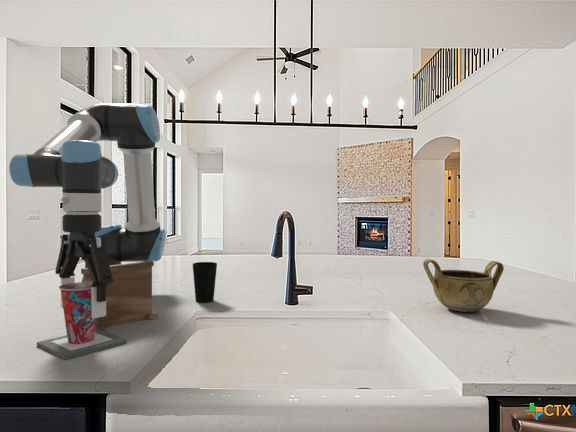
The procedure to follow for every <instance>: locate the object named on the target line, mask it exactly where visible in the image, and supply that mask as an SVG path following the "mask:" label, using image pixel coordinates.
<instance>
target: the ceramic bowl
mask: <svg viewBox="0 0 576 432" xmlns="http://www.w3.org/2000/svg"><path fill="white" fill-rule="evenodd" d="M429 263H431V264H432V266H433V267H434V275H433V274H432V272H431V269H430V267H429ZM422 265H423V268H424V271H425V273H426V276H427V277H428V279H429V281H430V284H431V285H432V289H433V292H434V295H435V298H436V299H437V301H439V302H440V304H442V305H443V306H444V307H445V308H447V309H449V310H451V311H453V310H454V311H453V312H456V311H459V312H458V313H463V312H470V313H474V312H478V311H480V310H483V309H484V308H485V307H486V306H487V305H488V304H489V303H490V301H492V298H493V295H494V291H495V290H496V287H497V286H498V283H499V282H500V278H501V276H502V275H503V273H504V270H505V267H504V265H503V263H502V262H500V261H496V260H491V261H490V262H488V264H487V265H486V266H485V268H484V271H483V272H481V271H477V270H476V271H473V270H465V269H464V270H463V269H441V266H440V265H439V263H438V262H437V261H436V260H435V259H431V258H426V259H424V261H423V263H422ZM495 266H496V269H495V271H494V273H493V276H492V269H493V268H494V267H495Z"/></svg>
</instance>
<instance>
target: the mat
mask: <svg viewBox="0 0 576 432" xmlns="http://www.w3.org/2000/svg"><path fill="white" fill-rule="evenodd" d="M127 340H128V339H126V338H124V337H121V336H118V335H117V334H116V335H115V334H113V333H110V332H108V331H104V330H102V329H96V330H95V337H94V340H93V341H91V342H88V343H84V344H70V343H68V339H67V334H66V335H62V336H57V337H52V338H48V339H45V340H40V341H37V342H36V347H38V348H40V349H42V350H44V351H46V352H49V353H51V354H53V355H55V356H57V357H58V358H61V359H63V360H69V359H73V358H76V357H77V358H78V357H80V356H84V355H88V354H91V353H92V354H93V353H95V352H98V351H102V350H107V349H109V348H110V349H111V348H113V347H116V346H120V345H124V344H127Z"/></svg>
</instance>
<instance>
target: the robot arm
mask: <svg viewBox="0 0 576 432" xmlns="http://www.w3.org/2000/svg"><path fill="white" fill-rule="evenodd" d="M160 139H161V129H160V123H159V119H158V115H157V112H156V110H155V108H154V107H152V106H151V105H148V104H140V103H136V104H135V103H105V102H103V103H102V102H101V103H97V104H94V105H93V104H92V105H90V106H87V107H85V108H82V109H81V110H78V111H77V112H75V113H74V114H73V115H71V116H70V117H69V118H68V119H67V122H66V125H65V126H64V127H63V128H62V129H61V130H59V132H58V133H56V134H55V135H54V136H52V138H50V139H48V141H47V142H45V143H44V144H43V145H42V146H41V147H39V149H37V150H36V151H35V152H34V153H33V154H32V153H31V154H29V153H24V154H22V153H21V154H15V155H14V156H13V157H12V158H11V159H10V162H9V168H8V169H9V171H8V172H9V175H10V179H11V180H12V182H13V183H14V184H15V185H16V186H19V187H31V188H61V189H62V192H61V193H62V197H61V198H60V201H61V203H62V212H64V213H65V214H63V215H62V216H61V217H62V221H61V222H62V225H61V226H62V228H61V229H62V231H63V232H64V233H66V234H62V235H61V246H60V249H59V254H58V258H57V262H56V267H55V274H56V275H58V277H59V278H60V286H62V285H65V284H70V283H76V281H75V280H76V279H75V276H76V273H75V271H76V269H77V265H78V264H79V261H80V259H81V261H84V268H88V271H89V273H90V276H91V278H92V281H93V284H92V285H91V287H92V318H93V319H94V318H99V317H103V316H106V285H108V284H109V283H112V282H113V277H112V274H111V270H110V266H109V265H119V264H122V262H123V263H124V262H127V263H137V262H146V261H153V262H159V261H160V260H161V259H162V256H163V254H164V252H165V251H164V249H165V244H166V236H167V235H166V234H167V233H166V229H165V228H161V222H159V221H158V220H157V219H156V214H155V213H156V212H155V211H156V209H155V197H154V181H153V180H154V179H153V165H152V164H153V163H152V151H153V150H154V149H155V148H156V143H158V142H160ZM100 141H101V142H102V141H105V142H108V141H109V142H116V144H117V148H118V150H120V151H121V152H122V154H123V155H122V156H123V164H124V177H125V178H124V179H125V188H126V189H125V190H126V199H127V210H128V211H127V212H128V222H126V224H125V225H124V228H123V226H122V225H121V224H115V225H106V226H102V216H101V214H99V213H100V212H102V189H107V188H110V187H112V186H113V185H114V184H115V183H116V182H117V180H118V177H119V169H118V167H117V166H116V163H114V162H113V161H112V160H111V159H110V158H108V157H105V156H103V154H102V147H101V144H100V143H98V142H100ZM67 233H69V234H67ZM80 282H83V277H82V279H81V281H80ZM60 308H61V309H63V303H62V296H61V295H60Z"/></svg>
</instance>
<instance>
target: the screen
mask: <svg viewBox="0 0 576 432" xmlns="http://www.w3.org/2000/svg"><path fill="white" fill-rule="evenodd" d="M154 262H155V261H146V262H127V263H121V264H119V265H109V266H110V270H111V274H112V277H113V282H112V283H109V284H108V285H106V316H103V317H99V318H97V323H96V329H99V330H102V329H105V328H109V327H113V326H116V325H117V326H119V325H122V323H123V324H126V323H129V322H134V321H140V320H143V319H148V320H154V319H158V314H157V313H153V267H154V266H155V263H154ZM80 271H81V273H80V274H81V275H82V278H83V282H92V278H91V276H90V273H89V271H88V268H85V267H84V268H83V267H82V268H80Z"/></svg>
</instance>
